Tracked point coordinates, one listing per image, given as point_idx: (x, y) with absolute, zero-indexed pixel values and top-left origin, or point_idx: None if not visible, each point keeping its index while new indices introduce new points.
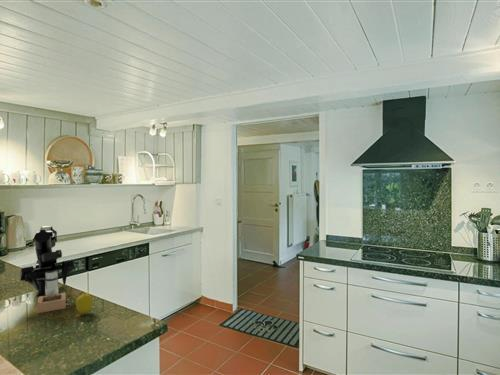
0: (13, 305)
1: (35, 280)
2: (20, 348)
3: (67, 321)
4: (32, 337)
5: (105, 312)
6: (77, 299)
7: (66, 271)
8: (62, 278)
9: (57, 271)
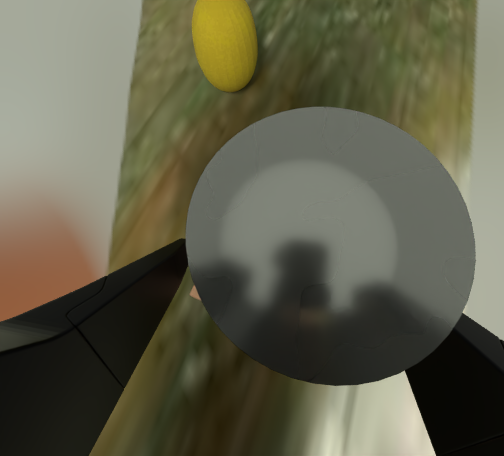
0: None
1: (499, 352)
2: (440, 6)
3: (294, 75)
4: (403, 43)
5: (187, 57)
6: (249, 20)
7: (32, 321)
8: (144, 344)
9: (213, 170)
